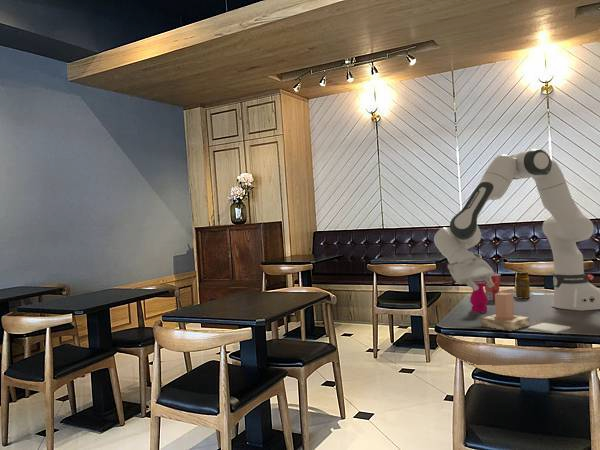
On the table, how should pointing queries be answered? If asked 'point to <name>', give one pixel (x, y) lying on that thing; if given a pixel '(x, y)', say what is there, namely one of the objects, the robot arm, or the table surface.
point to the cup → (493, 290)
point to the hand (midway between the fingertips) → (484, 288)
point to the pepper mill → (479, 298)
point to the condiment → (522, 285)
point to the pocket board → (505, 322)
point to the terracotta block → (504, 306)
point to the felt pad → (549, 327)
